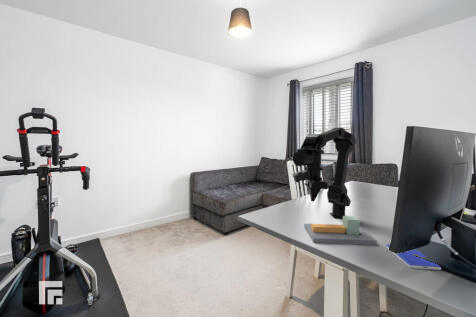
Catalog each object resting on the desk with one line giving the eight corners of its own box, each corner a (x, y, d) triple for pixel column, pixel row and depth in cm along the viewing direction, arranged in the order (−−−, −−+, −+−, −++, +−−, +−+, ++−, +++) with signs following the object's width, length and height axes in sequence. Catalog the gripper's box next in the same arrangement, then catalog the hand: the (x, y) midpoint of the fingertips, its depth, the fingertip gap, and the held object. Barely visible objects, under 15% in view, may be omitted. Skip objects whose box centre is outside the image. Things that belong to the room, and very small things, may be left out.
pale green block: (342, 233, 86) (342, 215, 85) (353, 233, 86) (354, 216, 85) (346, 237, 82) (347, 219, 81) (358, 238, 81) (359, 220, 81)
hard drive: (386, 244, 74) (410, 264, 62) (411, 245, 74) (441, 266, 61) (385, 248, 75) (409, 269, 62) (411, 250, 74) (441, 271, 61)
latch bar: (311, 228, 86) (311, 223, 86) (342, 229, 85) (342, 224, 85) (313, 231, 83) (313, 226, 83) (345, 232, 82) (345, 227, 82)
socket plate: (304, 227, 92) (304, 223, 92) (357, 228, 90) (357, 225, 90) (313, 242, 78) (313, 238, 78) (376, 244, 76) (376, 240, 76)
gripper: (290, 162, 100) (289, 195, 101) (299, 167, 82) (297, 207, 83) (314, 162, 99) (313, 195, 101) (329, 167, 81) (327, 208, 82)
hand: (312, 201), depth 92 cm, fingers closed
